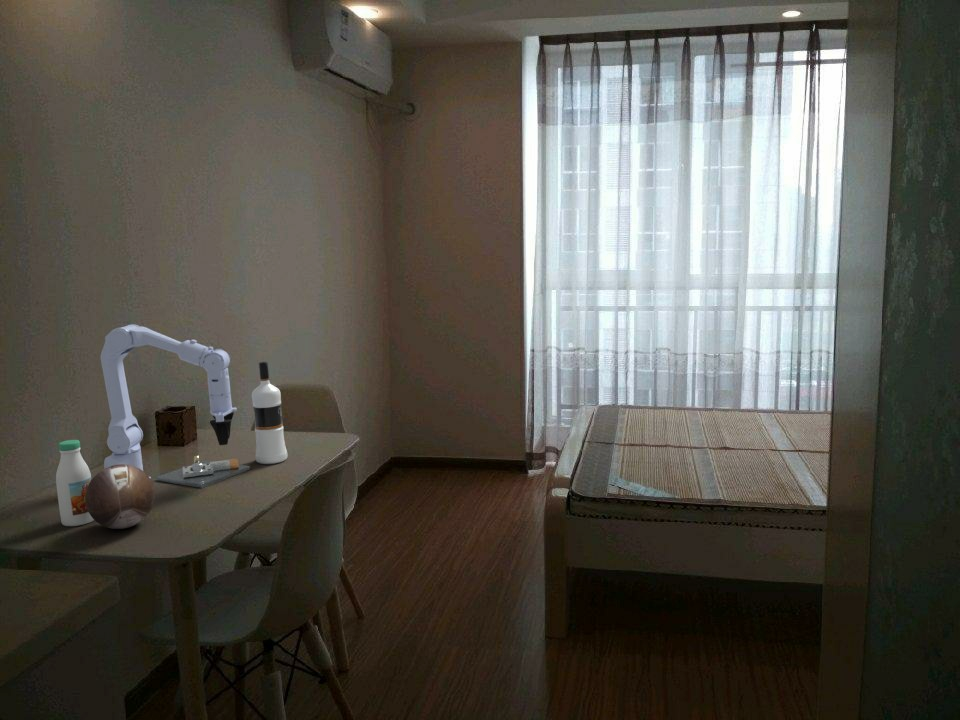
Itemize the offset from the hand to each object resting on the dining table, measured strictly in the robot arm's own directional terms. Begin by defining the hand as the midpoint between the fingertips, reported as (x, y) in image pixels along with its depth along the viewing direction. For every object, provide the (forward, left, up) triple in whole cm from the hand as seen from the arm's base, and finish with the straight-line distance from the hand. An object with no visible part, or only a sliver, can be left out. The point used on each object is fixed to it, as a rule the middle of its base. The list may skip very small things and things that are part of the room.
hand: (224, 441), depth 228 cm
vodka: (+18, 0, -11) cm, 21 cm away
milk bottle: (-40, +8, -11) cm, 43 cm away
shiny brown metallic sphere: (-38, -6, -11) cm, 40 cm away
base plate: (-1, +9, -10) cm, 14 cm away
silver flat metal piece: (0, +7, -9) cm, 11 cm away
